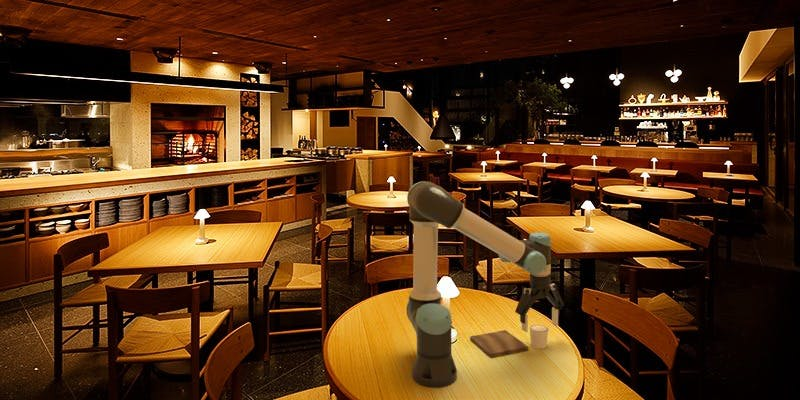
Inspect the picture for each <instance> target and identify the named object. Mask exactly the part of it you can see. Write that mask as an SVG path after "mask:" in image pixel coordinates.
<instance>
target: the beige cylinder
mask: <svg viewBox="0 0 800 400" xmlns="http://www.w3.org/2000/svg"><path fill="white" fill-rule="evenodd" d="M529 334H530V345H531V347H532V348H534V349H537V350H538V349H539V350H543V349H546V348H547V342H548V335H549V328H548V327H547V326H545V325H541V324H532V325H530V326H529Z"/></svg>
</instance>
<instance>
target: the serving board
mask: <svg viewBox="0 0 800 400" xmlns="http://www.w3.org/2000/svg"><path fill="white" fill-rule="evenodd" d="M469 340H470V341H471V342H472V343H473V344H475V346H477V348H479V349H480V350H481V351H482V352H483V353H485V354H486V355H487V356H488V357H489V358H490V359H492V358H496V357H497V358H498V357H502V356H503V357H504V356H507V355H512V354H518V353H522V352H526V351H529V345H527V344H526V343H524V342H523V341H521V340H520V339H519V338H517V337H516V336H515V335H513V334H511V333H510V332H509V331H508V330H505V329H504V330H499V331H494V332H493V331H492V332H487V333H481V334H477V335H476V334H475V335H472V336H471V335H470V336H469Z"/></svg>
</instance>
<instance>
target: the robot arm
mask: <svg viewBox="0 0 800 400" xmlns="http://www.w3.org/2000/svg"><path fill="white" fill-rule="evenodd" d="M406 199H407V204H408V207H409V221H410V222H411V223H412V225H413V259H412V260H413V265H412V266H413V274H412V275H413V276H412V277H413V278H412V281H413V282H412V285H413V286H412V290H410V292H409V293H408V302H407V304H406V315H407V319H408V321H409V322H410V324H411V326H412V327H413V329H414V331H415V334H416V356H415V360H414V361H413V365H412V367H411V374H412V379H413V381H414V382H416V383H417V384H419V385H422V386H426V387H428V388H429V387H430V388H441V387H446V386H449V385H452V384H453V383H454V382H455V381H456V380H457V378H458V377H457V376H458V369H457V367H456V364H455V359H454V358H453V355H452V323H453V321H452V315H451V314H452V313H451V311H450V310H449V308H448V307H446V306H445V305H442V294H441V292H440V291H439V290H438V253H439V251H438V248H439V247H438V243H439V242H438V241H439V237H438V235H439V234H438V233H439V225H441V226H444V227H445V228H446V229H455V230H456V231H458V232H460V233H461V234H463V235H465V236H466V237H469V238H470V239H471V240H474V241H475V242H477V243H479V244H480V245H482V246H484V247H486V248H487V249H489V250H491V251H493V252H494V253H496V254H498V258H499V260H500V261H501V262H502V263H512V264H515V265H517V266H518V267H520V268H522V269H523V270H525V271H526V272H528V273H530V274H529V284H530V287H529V288H527V287H523V288H522V294H521V296H520V299H519V301H518V303H517V306H516V309H515V311H514V312H515V313H516V314H517V315H519V322H520V323H521V330H522V331H523V332H525V333H528V332H529V329H528V325H529V324H528V323H529V322H528V321H529V319H528V314H527V313H528V312H529V311H530V309H531V307H532V306H533V304H534V303H535V302H536V301H537V300H541V299H547V300H548V301H549V302H550V303H551V305H552V306H553V307H552V308H551V324H552V325H554V326H556V327H558V326H559V317H560V310H562V307H565V303H564V300H563V299H562V296H561V294H560V292H559V290H558V285H557V284H555V283H553V282H552V281H551V271H552V270H551V269H552V267H551V266H552V264H551V262H552V260H551V259H552V255H551V254H552V252H551V251H552V249H551V248H552V240H551V239H552V238H551V235H550V234H548V233H547V232H540V231H538V232H537V231H536V232H531V233H530V234H529V237H528V238H529V239H528V238H527V239H521V240H520V239H517V238H516V237H514V236H512V235H510V234H509V233H508V232H505V231H504V230H502V229H501V228H499V227H498V226H496V225H494V224H492V223H491V222H489V221H487V220H485V219H484V218H482V217H480V216H479V215H478V214H476V213H474V212H472V211H470V210H468V209H467V208H465V204H464V203H463V202H461V201H460V200H459V199H457V198H455V197H454V196H453V195H452V194H450V193H449V192H448V191H446V189H445V188H443V187H442V186H440V185H438V184H435V183H434V182H431V181H424V180H423V181H418V182H417V183H414V184H413V185H412V186H411V187H410V188H409V190H408V192H407V197H406ZM550 291H551V292H552V293H550ZM552 294H553V296H554V297H553V296H552Z"/></svg>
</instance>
